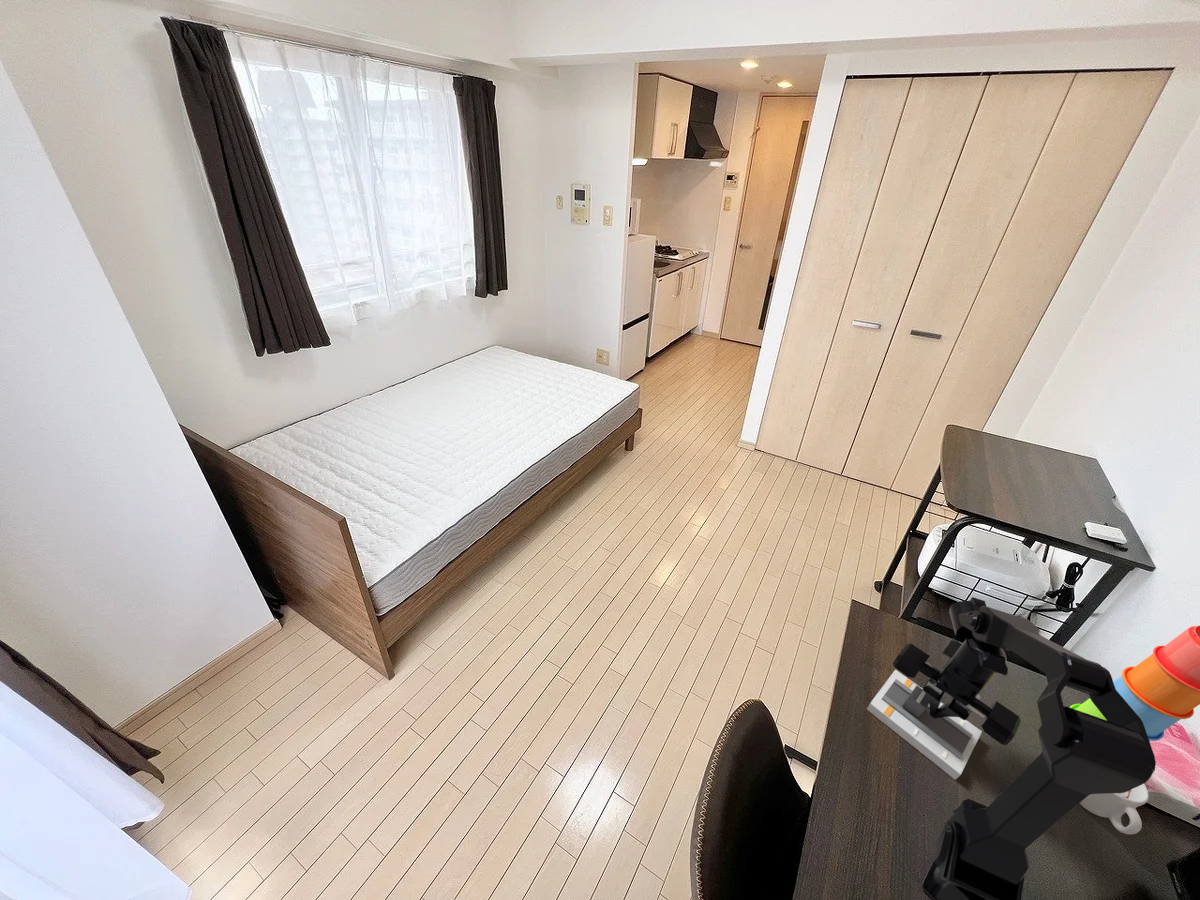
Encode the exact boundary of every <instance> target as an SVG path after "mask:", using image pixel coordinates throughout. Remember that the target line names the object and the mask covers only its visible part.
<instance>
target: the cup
mask: <svg viewBox="0 0 1200 900" xmlns="http://www.w3.org/2000/svg"><path fill="white" fill-rule="evenodd" d="M1149 795H1150V794H1149V791H1148V788H1147V785H1146V783H1144V784H1142V785H1140V786H1138V787H1136V788H1133V789H1131V790H1129V791H1127V792H1124V793H1106V794H1090V795H1088V796H1087V797H1086V798H1085V799H1084V800H1083V801H1081V802H1080V803H1079V804H1078V805H1080V806H1082V807H1083V808H1084V809H1085V810H1086V811H1088V812H1090V813H1091V814H1094V815H1096V816H1098V817H1101V818H1108V819H1109V820H1110V822H1111V824H1112V825H1113V826H1114V828H1115V829H1116V830H1117V831H1118V832H1119V833H1122V834H1125V835H1134V834H1135V835H1136V834H1137V833H1139V832H1140V831H1141V830H1142V827H1143V823H1142V819H1141V817H1140V815H1139V812H1138V811H1137V809H1136V808H1138V807H1141V806H1143V805H1145V804H1146V803H1147V802H1148V801H1149V797H1150V796H1149ZM1124 814H1127V816H1128V818H1129V824H1128V825H1127V826H1124V825H1123V823H1122V817H1123V815H1124Z"/></svg>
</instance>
